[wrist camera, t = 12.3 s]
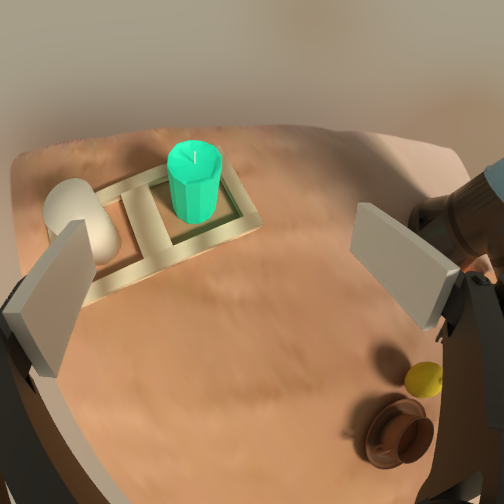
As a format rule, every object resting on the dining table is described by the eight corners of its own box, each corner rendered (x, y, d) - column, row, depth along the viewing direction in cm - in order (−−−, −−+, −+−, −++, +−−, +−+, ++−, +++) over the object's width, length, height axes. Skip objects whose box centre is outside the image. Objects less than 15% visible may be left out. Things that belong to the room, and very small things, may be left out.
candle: (164, 203, 38) (153, 151, 27) (195, 178, 40) (197, 122, 29) (193, 233, 38) (192, 187, 26) (225, 205, 40) (236, 153, 28)
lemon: (396, 363, 37) (431, 363, 30) (421, 360, 38) (456, 359, 30) (393, 397, 35) (428, 403, 28) (418, 393, 36) (453, 397, 29)
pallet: (218, 150, 42) (219, 144, 41) (261, 227, 40) (263, 223, 38) (49, 221, 34) (45, 217, 33) (73, 311, 32) (68, 310, 30)
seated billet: (114, 216, 36) (87, 169, 25) (127, 254, 35) (99, 216, 24) (77, 233, 35) (39, 193, 23) (88, 272, 33) (48, 242, 22)
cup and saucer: (372, 478, 31) (394, 491, 25) (349, 427, 33) (372, 438, 28) (425, 434, 34) (449, 440, 28) (408, 382, 37) (434, 384, 31)
